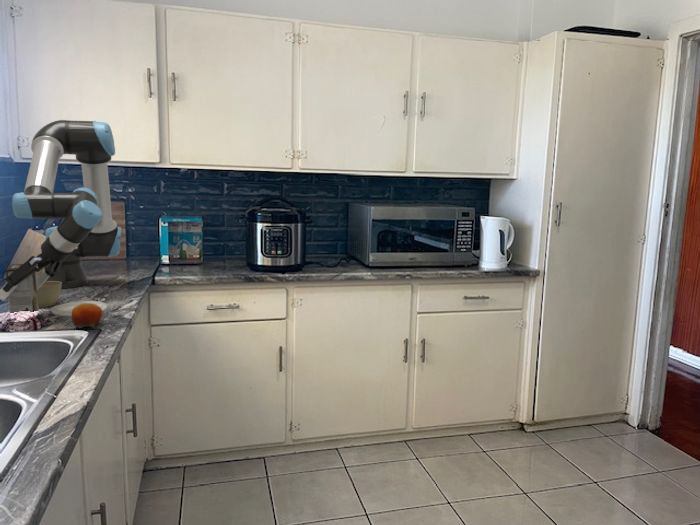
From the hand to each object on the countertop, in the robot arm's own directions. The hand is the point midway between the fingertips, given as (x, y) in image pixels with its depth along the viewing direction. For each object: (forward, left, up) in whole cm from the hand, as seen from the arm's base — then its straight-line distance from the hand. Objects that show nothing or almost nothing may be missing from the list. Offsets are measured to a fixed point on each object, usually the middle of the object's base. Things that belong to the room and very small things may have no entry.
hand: (17, 292), depth 163 cm
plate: (-12, +12, -8) cm, 19 cm away
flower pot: (-16, -3, -8) cm, 19 cm away
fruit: (+4, +25, -8) cm, 26 cm away
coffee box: (0, +2, -8) cm, 8 cm away
